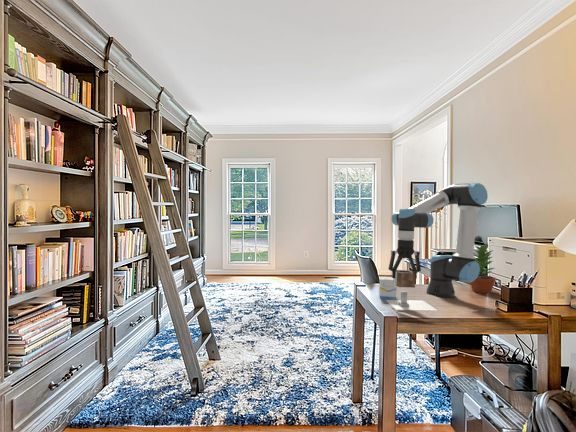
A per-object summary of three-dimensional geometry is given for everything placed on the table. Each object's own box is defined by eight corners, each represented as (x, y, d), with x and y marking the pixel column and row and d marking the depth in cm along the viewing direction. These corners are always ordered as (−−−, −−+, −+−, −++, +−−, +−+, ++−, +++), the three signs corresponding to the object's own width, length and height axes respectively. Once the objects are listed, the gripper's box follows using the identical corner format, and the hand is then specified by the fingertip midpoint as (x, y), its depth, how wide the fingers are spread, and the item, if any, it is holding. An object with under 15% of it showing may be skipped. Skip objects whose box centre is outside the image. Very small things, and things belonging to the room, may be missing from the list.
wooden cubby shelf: (409, 284, 179) (409, 269, 179) (414, 287, 171) (415, 271, 171) (393, 283, 179) (393, 268, 178) (398, 287, 171) (399, 271, 170)
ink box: (396, 302, 187) (397, 280, 186) (379, 300, 188) (380, 279, 188) (394, 298, 195) (395, 277, 195) (379, 296, 197) (379, 276, 196)
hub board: (422, 302, 186) (423, 287, 186) (437, 312, 168) (438, 296, 168) (385, 302, 186) (385, 286, 186) (396, 312, 168) (396, 295, 168)
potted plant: (479, 287, 227) (480, 241, 226) (500, 293, 212) (502, 243, 212) (461, 289, 221) (463, 241, 221) (482, 294, 207) (484, 244, 206)
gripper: (423, 239, 178) (421, 284, 179) (382, 238, 178) (380, 282, 178) (429, 240, 171) (427, 287, 171) (387, 239, 170) (385, 286, 171)
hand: (403, 285), depth 175 cm, fingers closed on wooden cubby shelf, 8 cm apart
